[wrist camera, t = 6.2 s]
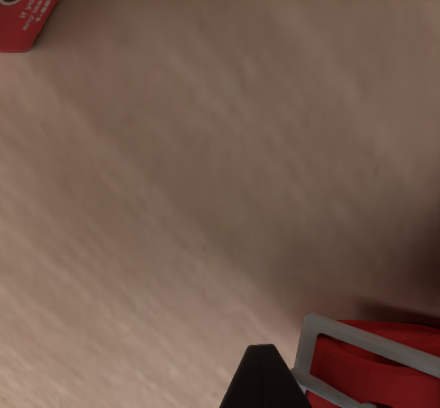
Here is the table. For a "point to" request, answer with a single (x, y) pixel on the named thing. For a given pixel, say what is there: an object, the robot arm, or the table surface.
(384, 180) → the table surface
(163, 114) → the table surface
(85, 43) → the table surface
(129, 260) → the table surface
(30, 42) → the ink box
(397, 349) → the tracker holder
